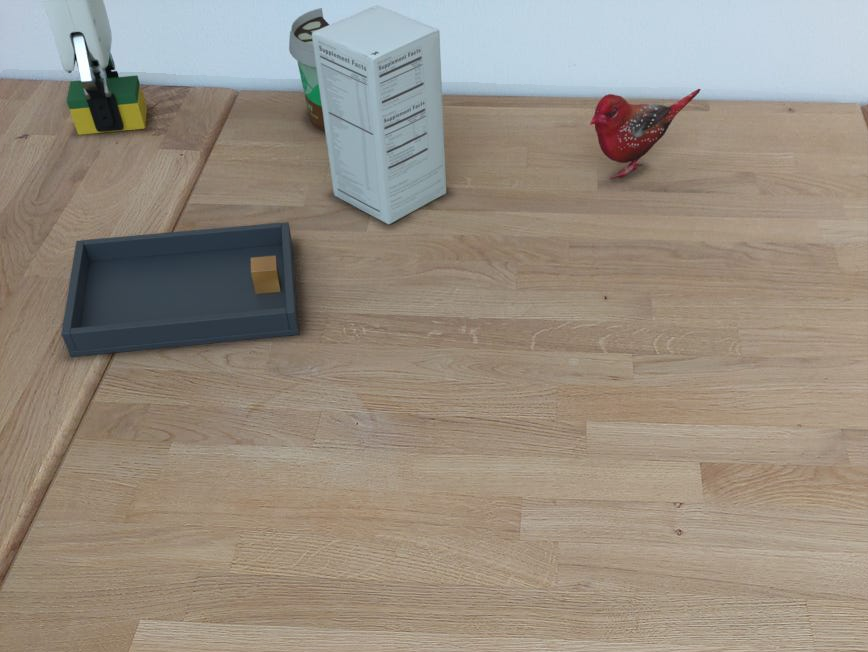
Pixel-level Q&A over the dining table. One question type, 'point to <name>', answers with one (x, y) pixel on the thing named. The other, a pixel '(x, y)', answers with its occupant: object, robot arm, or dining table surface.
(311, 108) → the food container
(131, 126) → the sponge
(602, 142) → the decorative bird figurine
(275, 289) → the small brown block
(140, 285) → the tray
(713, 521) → the dining table surface
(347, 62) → the supplement box
